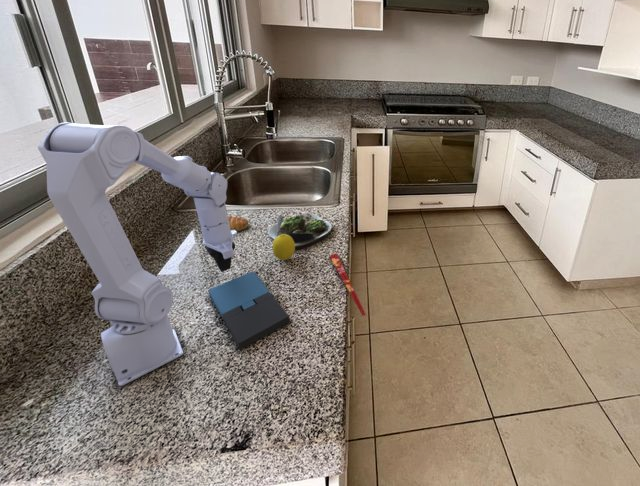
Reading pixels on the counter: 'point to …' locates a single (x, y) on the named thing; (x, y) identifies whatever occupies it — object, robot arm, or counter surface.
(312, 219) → the salad plate
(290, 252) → the lemon
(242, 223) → the pastry
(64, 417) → the counter surface
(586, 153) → the counter surface
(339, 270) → the chopstick
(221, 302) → the blue pad
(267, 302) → the charcoal pad
